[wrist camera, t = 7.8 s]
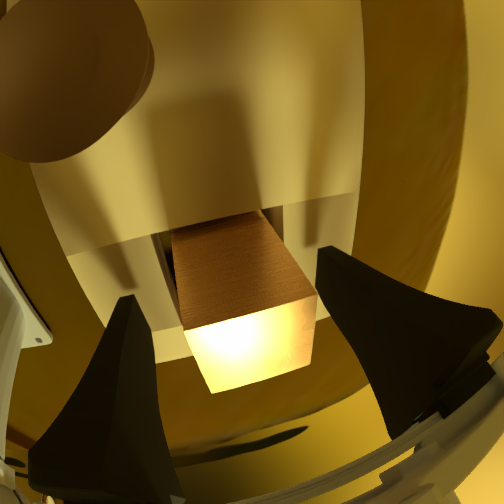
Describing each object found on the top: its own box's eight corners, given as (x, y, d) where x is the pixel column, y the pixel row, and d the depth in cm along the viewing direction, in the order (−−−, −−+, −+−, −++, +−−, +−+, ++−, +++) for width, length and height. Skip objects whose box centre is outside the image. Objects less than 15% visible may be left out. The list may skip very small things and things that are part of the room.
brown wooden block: (185, 268, 14) (211, 393, 9) (168, 207, 12) (183, 331, 7) (252, 252, 15) (310, 364, 9) (245, 189, 13) (318, 293, 7)
